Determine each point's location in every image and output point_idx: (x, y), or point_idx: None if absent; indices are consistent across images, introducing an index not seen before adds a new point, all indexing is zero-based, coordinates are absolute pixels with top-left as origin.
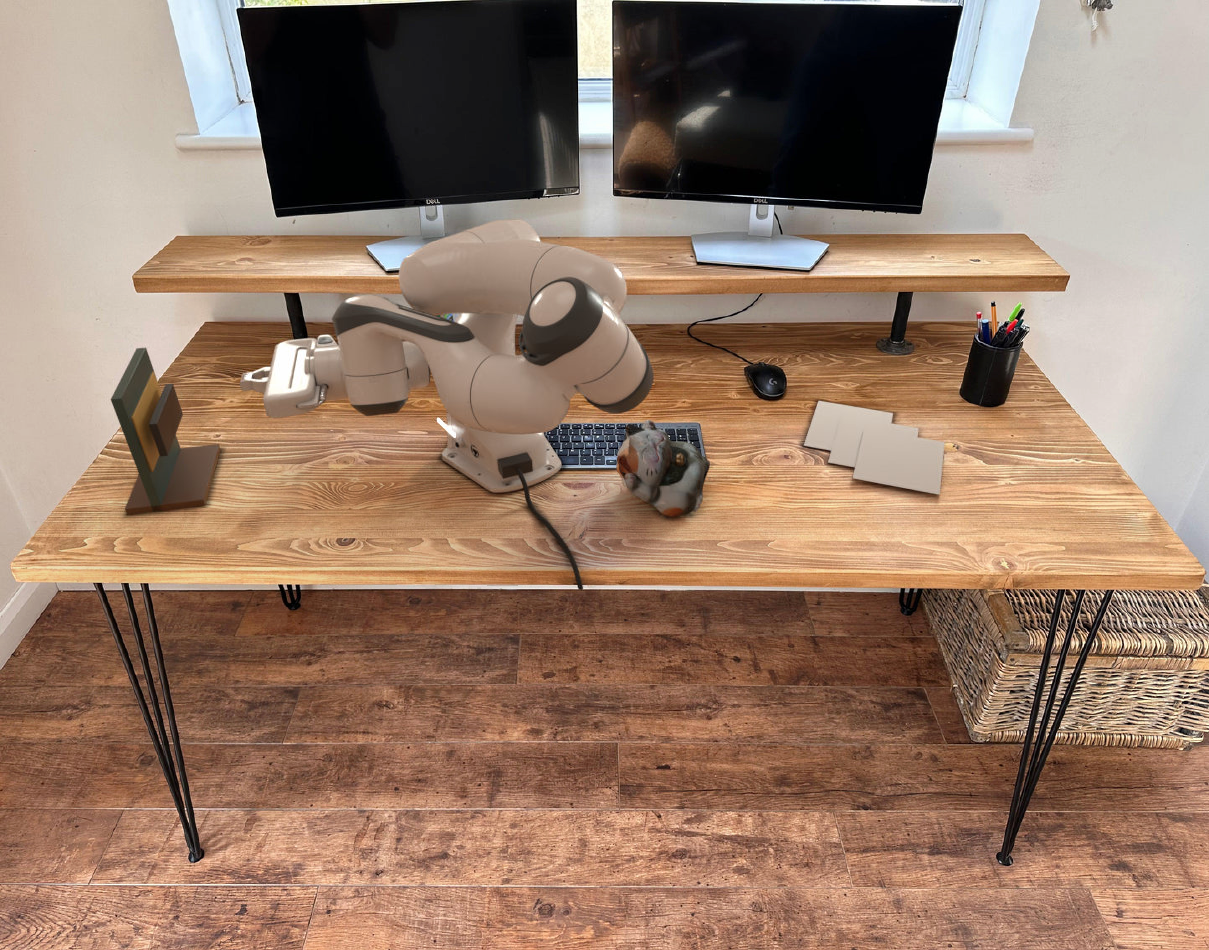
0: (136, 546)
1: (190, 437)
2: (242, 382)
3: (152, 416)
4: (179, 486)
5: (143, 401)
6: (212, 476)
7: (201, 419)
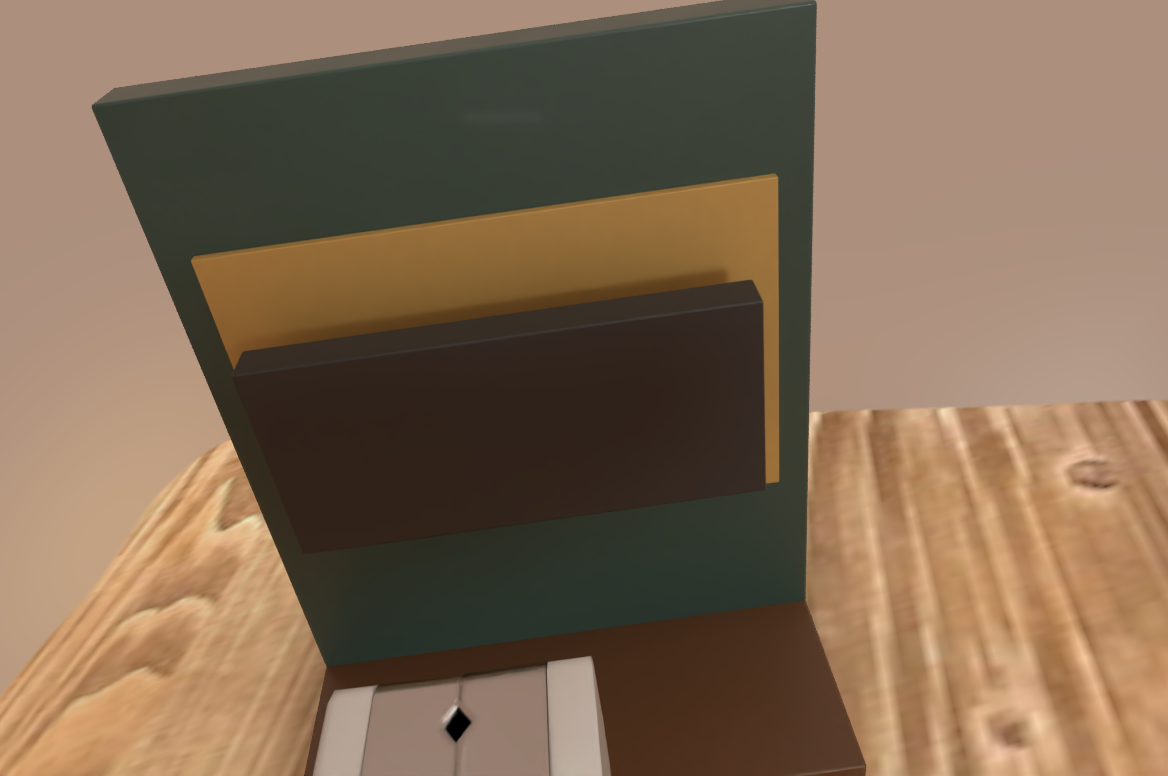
0: (116, 673)
1: (963, 612)
2: (331, 720)
3: (334, 338)
4: None
5: (435, 249)
6: None
7: (1154, 607)
